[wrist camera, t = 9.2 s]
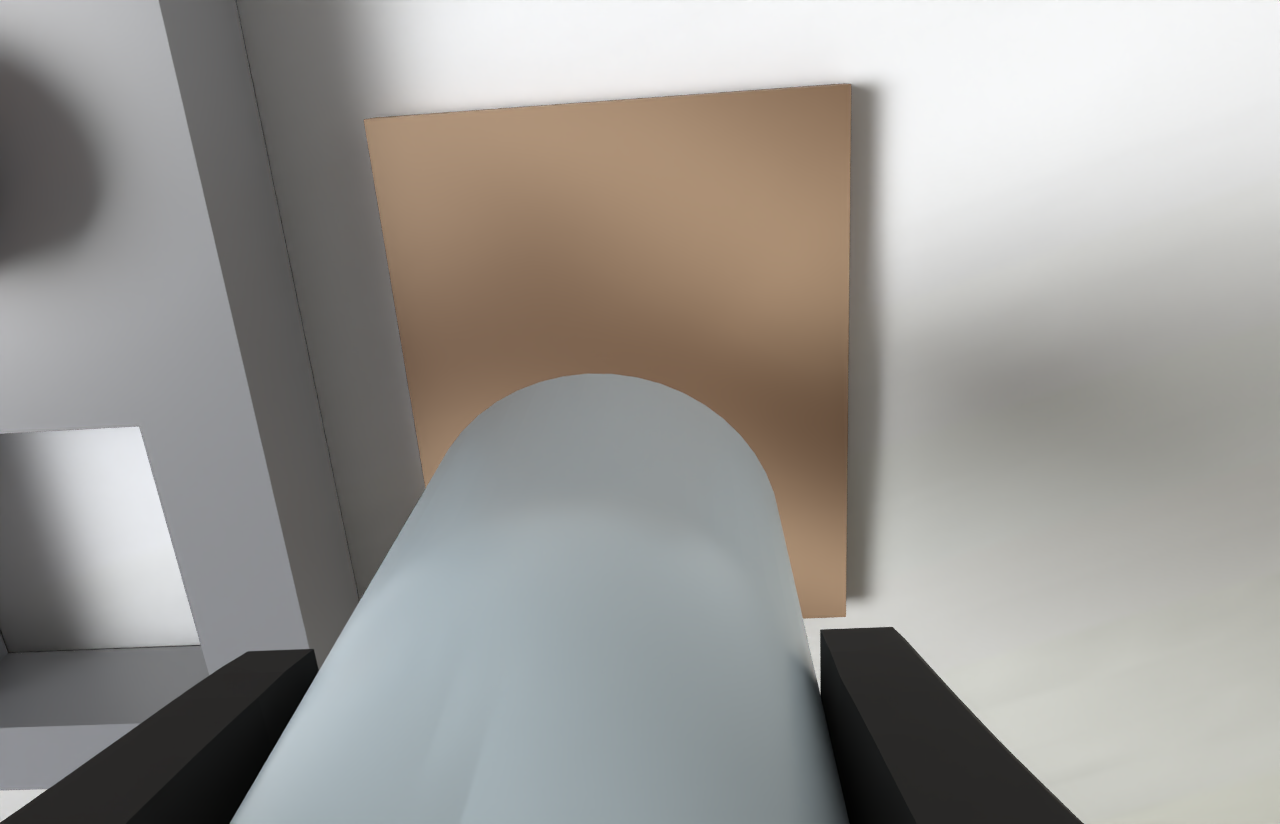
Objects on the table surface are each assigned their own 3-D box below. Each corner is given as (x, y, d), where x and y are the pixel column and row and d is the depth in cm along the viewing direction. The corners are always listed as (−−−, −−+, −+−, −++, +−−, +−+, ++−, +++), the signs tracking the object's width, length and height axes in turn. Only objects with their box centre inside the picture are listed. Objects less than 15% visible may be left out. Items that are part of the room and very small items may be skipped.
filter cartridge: (789, 689, 12) (1050, 2116, 4) (444, 699, 12) (-44, 2053, 4) (787, 355, 11) (1236, 1542, 2) (390, 375, 11) (-633, 1499, 2)
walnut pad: (840, 599, 19) (845, 616, 18) (456, 615, 19) (449, 632, 19) (845, 83, 15) (851, 83, 15) (374, 117, 16) (363, 120, 15)
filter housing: (379, 697, 20) (339, 780, 18) (-57, 712, 21) (-149, 794, 18) (207, -139, 15) (118, -177, 12) (-383, -85, 15) (-576, -112, 13)
